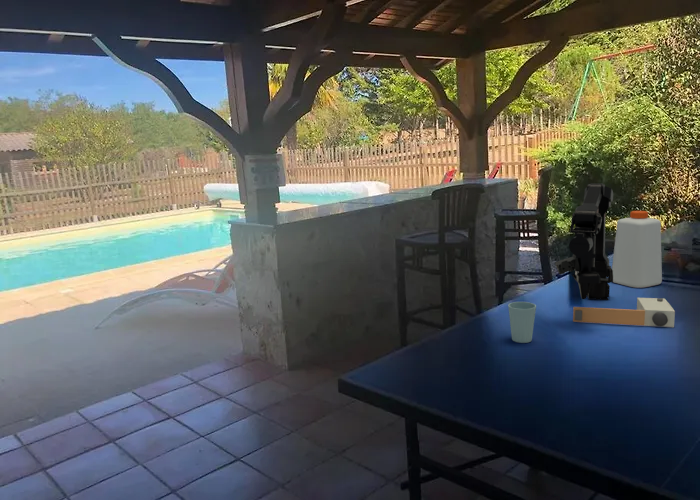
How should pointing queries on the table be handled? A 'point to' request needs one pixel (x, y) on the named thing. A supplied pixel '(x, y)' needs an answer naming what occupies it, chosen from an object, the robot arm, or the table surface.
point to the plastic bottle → (637, 251)
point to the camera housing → (656, 312)
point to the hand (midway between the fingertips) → (583, 298)
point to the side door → (608, 316)
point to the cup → (522, 321)
